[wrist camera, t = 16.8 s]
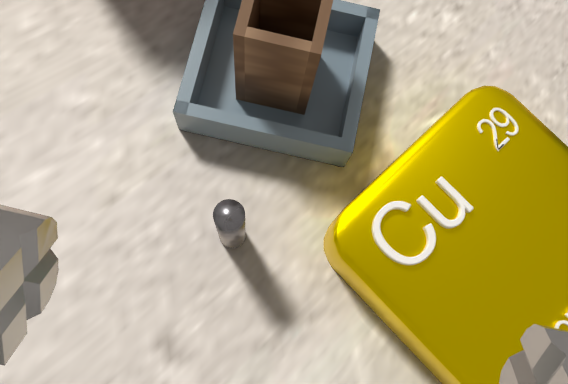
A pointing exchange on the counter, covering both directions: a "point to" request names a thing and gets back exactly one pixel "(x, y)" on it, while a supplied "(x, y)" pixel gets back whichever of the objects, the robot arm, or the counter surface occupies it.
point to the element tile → (464, 238)
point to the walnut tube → (279, 51)
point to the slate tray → (270, 121)
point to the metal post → (230, 223)
